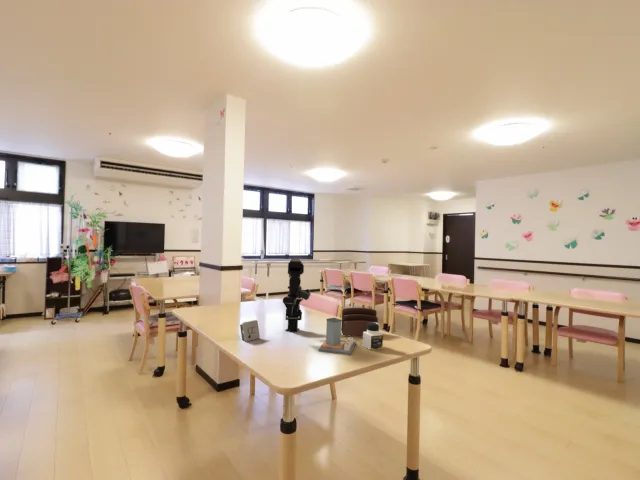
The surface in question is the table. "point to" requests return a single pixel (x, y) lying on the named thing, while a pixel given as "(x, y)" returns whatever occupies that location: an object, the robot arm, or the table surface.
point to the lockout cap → (333, 331)
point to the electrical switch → (249, 330)
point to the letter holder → (357, 320)
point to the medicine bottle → (372, 336)
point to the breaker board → (339, 347)
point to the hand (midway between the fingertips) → (293, 314)
